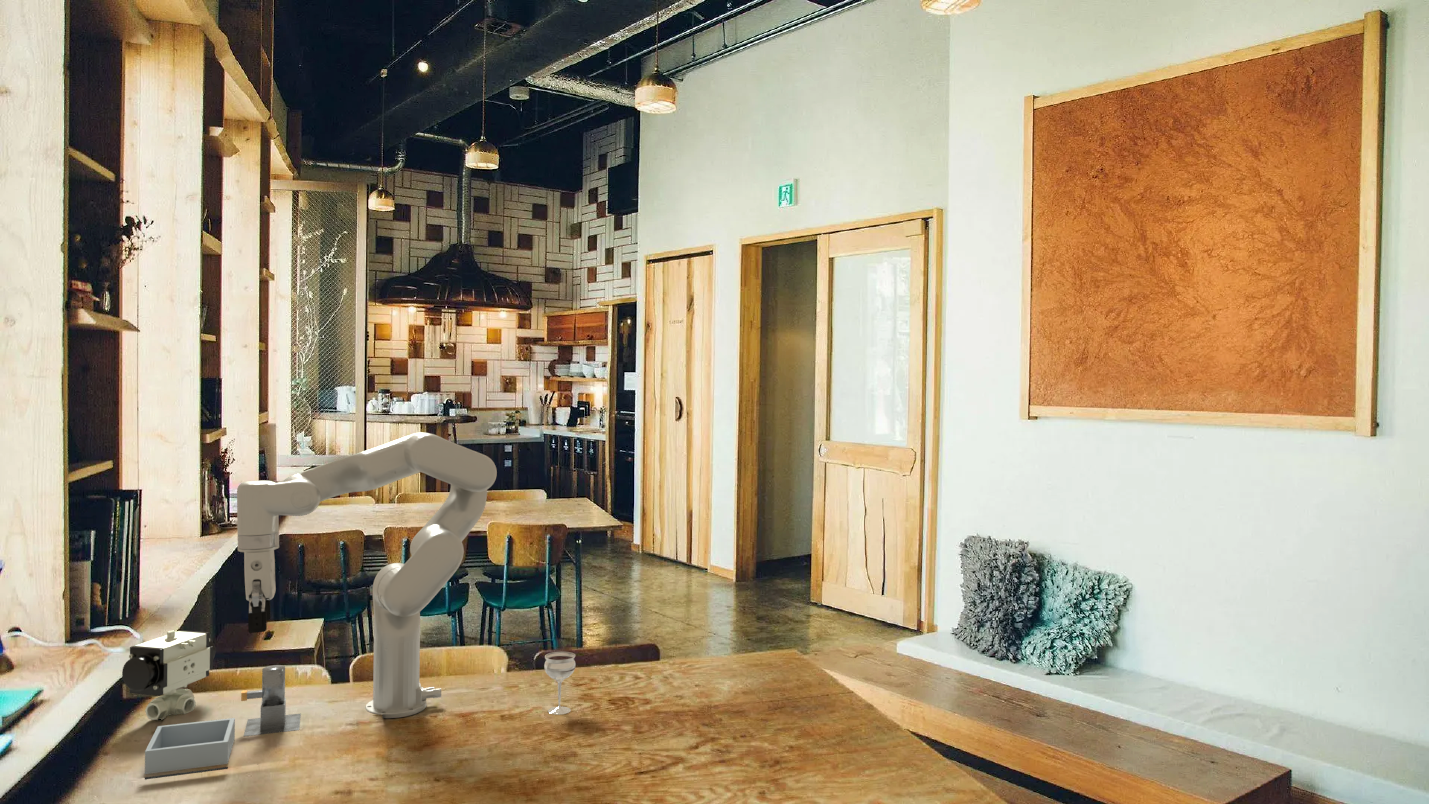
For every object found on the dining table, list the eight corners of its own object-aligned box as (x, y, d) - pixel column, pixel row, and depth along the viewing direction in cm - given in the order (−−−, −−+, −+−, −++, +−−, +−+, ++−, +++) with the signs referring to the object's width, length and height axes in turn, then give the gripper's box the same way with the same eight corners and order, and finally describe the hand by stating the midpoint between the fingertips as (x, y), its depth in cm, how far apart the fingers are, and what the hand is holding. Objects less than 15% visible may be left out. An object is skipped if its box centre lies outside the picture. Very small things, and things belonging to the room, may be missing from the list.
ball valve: (156, 732, 184) (156, 644, 183) (120, 728, 185) (121, 641, 185) (221, 703, 201) (222, 622, 201) (187, 699, 203) (188, 620, 203)
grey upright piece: (285, 719, 189) (286, 664, 189) (284, 726, 185) (285, 670, 185) (242, 724, 186) (242, 668, 186) (240, 731, 182) (240, 674, 182)
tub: (234, 743, 179) (234, 717, 179) (227, 769, 167) (227, 741, 167) (157, 752, 174) (157, 726, 174) (144, 779, 162) (144, 751, 162)
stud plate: (300, 718, 193) (301, 696, 193) (299, 734, 183) (299, 711, 183) (247, 724, 189) (248, 701, 189) (243, 741, 180) (243, 717, 180)
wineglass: (537, 713, 198) (538, 658, 198) (554, 703, 204) (555, 650, 204) (564, 717, 195) (565, 662, 195) (580, 707, 202) (581, 653, 202)
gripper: (275, 547, 179) (277, 634, 179) (281, 534, 195) (282, 614, 195) (232, 550, 176) (234, 639, 176) (242, 536, 192) (243, 617, 192)
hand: (259, 625), depth 185 cm, fingers open, 9 cm apart
